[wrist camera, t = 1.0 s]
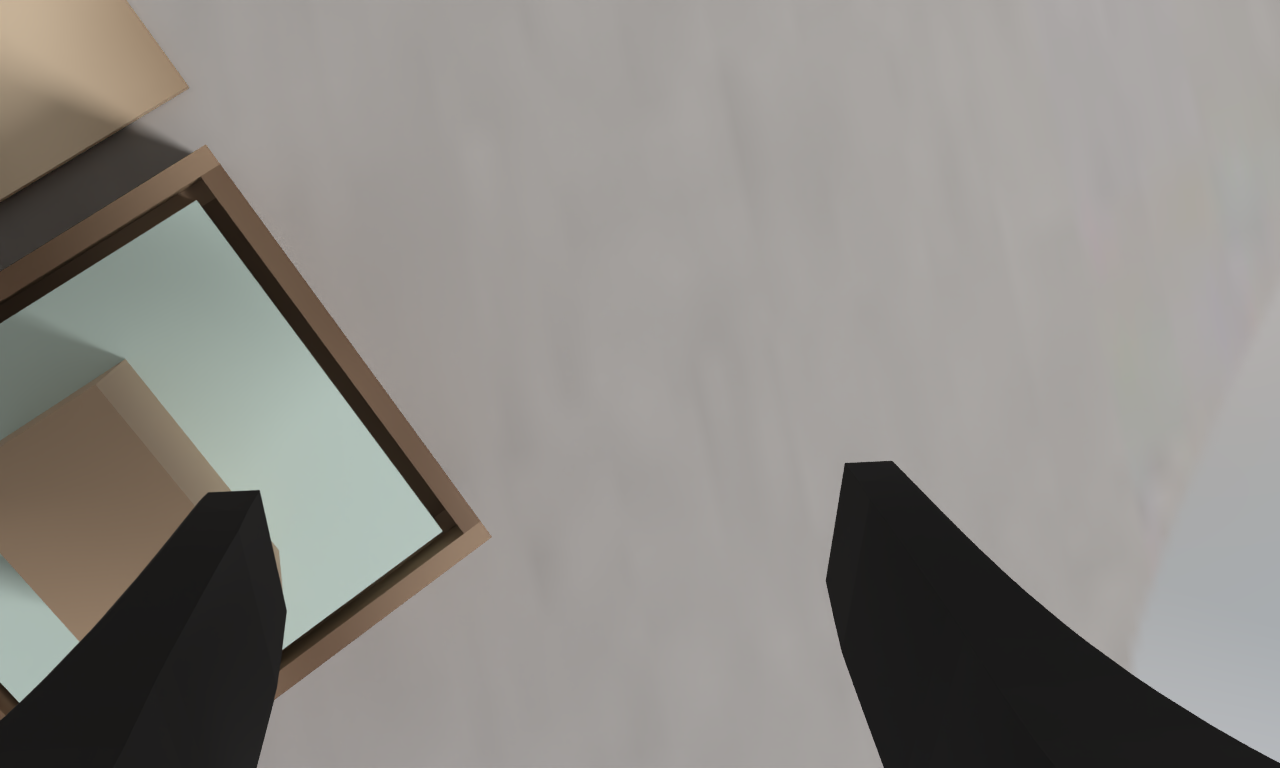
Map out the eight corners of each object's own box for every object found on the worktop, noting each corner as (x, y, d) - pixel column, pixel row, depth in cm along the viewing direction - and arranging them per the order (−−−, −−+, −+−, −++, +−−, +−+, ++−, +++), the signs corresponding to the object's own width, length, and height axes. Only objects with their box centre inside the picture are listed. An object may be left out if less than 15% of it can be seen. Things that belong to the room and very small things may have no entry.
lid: (103, 767, 21) (62, 909, 16) (-193, 447, 19) (-333, 510, 14) (436, 521, 22) (483, 589, 18) (198, 202, 20) (183, 188, 16)
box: (115, 740, 24) (88, 838, 20) (-186, 411, 22) (-286, 447, 18) (454, 492, 26) (491, 536, 22) (213, 163, 24) (205, 144, 19)
